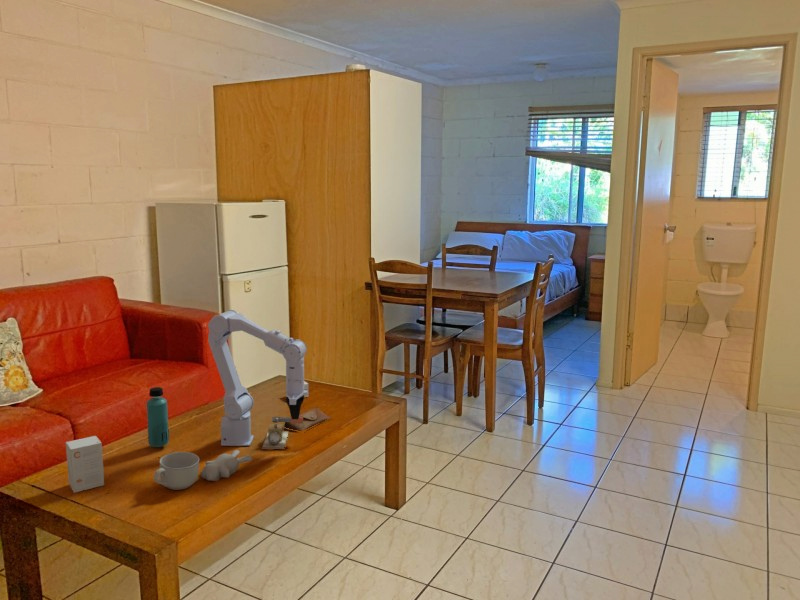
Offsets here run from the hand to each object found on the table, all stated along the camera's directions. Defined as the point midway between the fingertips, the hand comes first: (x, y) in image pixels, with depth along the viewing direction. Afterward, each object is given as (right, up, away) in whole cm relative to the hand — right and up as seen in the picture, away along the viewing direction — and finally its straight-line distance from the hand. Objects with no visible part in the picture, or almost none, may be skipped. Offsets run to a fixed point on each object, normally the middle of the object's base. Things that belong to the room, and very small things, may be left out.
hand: (295, 418), depth 207 cm
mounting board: (-8, -9, +7) cm, 14 cm away
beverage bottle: (-44, -10, 0) cm, 45 cm away
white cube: (-7, -1, +51) cm, 52 cm away
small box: (-55, -14, -26) cm, 62 cm away
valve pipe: (-8, -9, +7) cm, 14 cm away
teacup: (-30, -15, -26) cm, 42 cm away
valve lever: (-3, -2, +6) cm, 7 cm away
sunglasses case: (+1, -7, +24) cm, 25 cm away
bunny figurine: (-18, -14, -16) cm, 28 cm away
